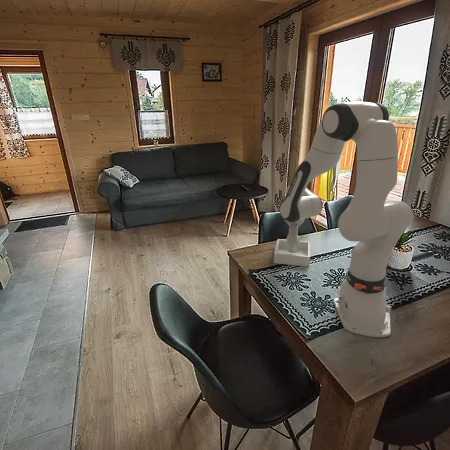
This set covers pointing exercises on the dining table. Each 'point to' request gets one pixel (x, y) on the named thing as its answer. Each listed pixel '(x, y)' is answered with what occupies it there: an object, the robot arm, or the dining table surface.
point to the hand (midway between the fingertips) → (292, 244)
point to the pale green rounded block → (296, 249)
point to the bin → (292, 254)
